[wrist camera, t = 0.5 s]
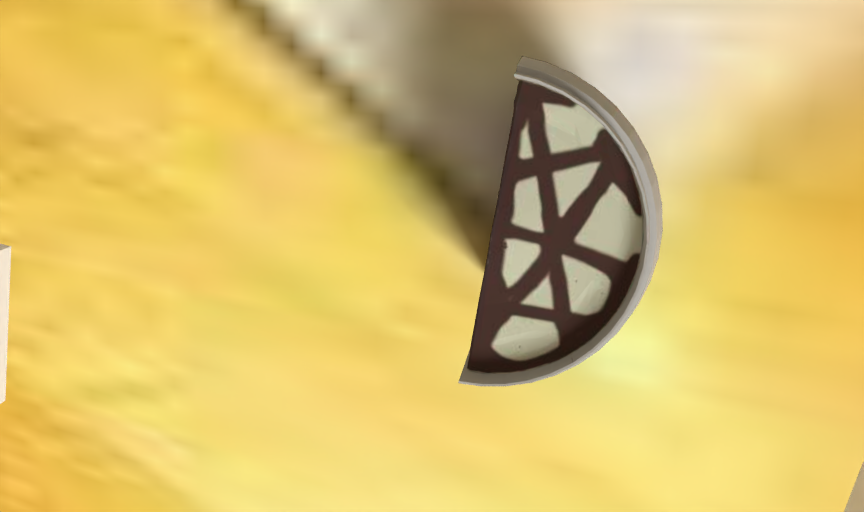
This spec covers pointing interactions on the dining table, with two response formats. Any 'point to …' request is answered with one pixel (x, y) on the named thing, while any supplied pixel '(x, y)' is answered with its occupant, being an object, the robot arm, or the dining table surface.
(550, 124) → the food container
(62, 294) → the dining table surface
